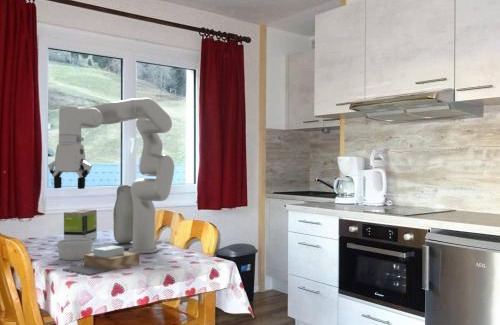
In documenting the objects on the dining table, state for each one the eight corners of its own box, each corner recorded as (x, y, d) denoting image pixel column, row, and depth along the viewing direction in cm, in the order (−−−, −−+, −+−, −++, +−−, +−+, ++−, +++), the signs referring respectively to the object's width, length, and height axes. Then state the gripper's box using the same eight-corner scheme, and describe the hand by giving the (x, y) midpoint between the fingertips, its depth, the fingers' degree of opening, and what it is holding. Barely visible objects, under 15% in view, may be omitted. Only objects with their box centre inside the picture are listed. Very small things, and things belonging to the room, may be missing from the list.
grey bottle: (125, 241, 224) (126, 184, 225) (139, 243, 218) (140, 185, 219) (108, 243, 216) (109, 184, 217) (122, 246, 210) (123, 185, 211)
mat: (83, 265, 167) (83, 264, 167) (110, 270, 160) (110, 269, 160) (62, 270, 159) (62, 269, 159) (89, 275, 152) (89, 274, 152)
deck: (113, 259, 179) (113, 249, 179) (139, 263, 172) (139, 253, 172) (83, 265, 167) (84, 254, 167) (110, 270, 160) (110, 259, 160)
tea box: (78, 237, 234) (79, 209, 234) (97, 238, 233) (97, 209, 233) (62, 242, 219) (63, 211, 219) (82, 243, 218) (82, 212, 218)
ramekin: (81, 253, 191) (81, 237, 191) (99, 258, 182) (99, 240, 182) (50, 258, 180) (50, 240, 180) (67, 262, 172) (68, 244, 172)
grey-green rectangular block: (112, 251, 173) (112, 245, 173) (123, 253, 170) (124, 246, 170) (93, 255, 166) (93, 248, 166) (105, 257, 163) (105, 250, 163)
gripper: (97, 141, 164) (96, 188, 164) (56, 141, 169) (55, 187, 168) (84, 139, 157) (84, 189, 157) (42, 140, 161) (41, 188, 161)
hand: (69, 188), depth 163 cm, fingers open, 9 cm apart
